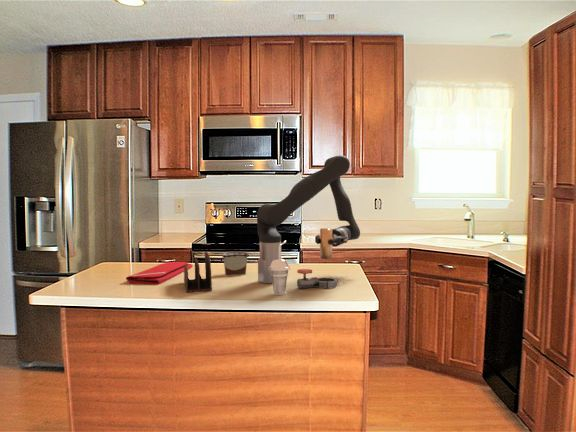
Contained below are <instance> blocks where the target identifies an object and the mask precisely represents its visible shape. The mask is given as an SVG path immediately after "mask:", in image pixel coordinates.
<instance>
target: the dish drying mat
mask: <svg viewBox="0 0 576 432" xmlns="http://www.w3.org/2000/svg"><path fill="white" fill-rule="evenodd" d="M184 265H186V266H187V270H188V271H189V270H190V269H192V268H193V266H194V265H193V264H192V263H188V262H186V261H169V262H163V263H160V264H157V265H156V266H152V267H151V268H148V269H145V270H142V271H140V272H136V273H135V274H132V275H128V276H127V277H125V280H126V281H127V282H129V283H131V284H135V285H161V284H163V283H164V282H167V281H169V280H172V279H174V278H175V277H177V276H179V275H181V274H182V272H183V273H184Z"/></svg>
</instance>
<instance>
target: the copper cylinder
mask: <svg viewBox="0 0 576 432" xmlns="http://www.w3.org/2000/svg"><path fill="white" fill-rule="evenodd" d="M332 229H333V228H329V227H323V228H319V235H320V244H319V258H320V259H321V260H322V259H324V260H329V259H332V258H333V246H332V245H330V239H332Z"/></svg>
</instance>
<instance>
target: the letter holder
mask: <svg viewBox="0 0 576 432" xmlns="http://www.w3.org/2000/svg"><path fill="white" fill-rule="evenodd" d="M211 265H212V264H211V256H210V254H209V252H207V251H204V266H205V267H204V268H205V278H202V276H201V272H200V270H201V269H200V264H199V261H198V259H197V258H194V279H190V278H189V272H188V271H189V269H188V270H187V266H186V265H184V272H183V283H184V287H185V288H184V289H185V292H186V293H187V294H188V293H203V292H204V293H207V292H212V291H213V283H212V266H211Z"/></svg>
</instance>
